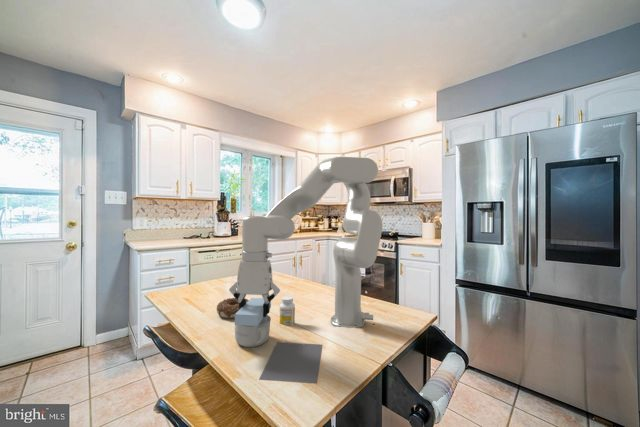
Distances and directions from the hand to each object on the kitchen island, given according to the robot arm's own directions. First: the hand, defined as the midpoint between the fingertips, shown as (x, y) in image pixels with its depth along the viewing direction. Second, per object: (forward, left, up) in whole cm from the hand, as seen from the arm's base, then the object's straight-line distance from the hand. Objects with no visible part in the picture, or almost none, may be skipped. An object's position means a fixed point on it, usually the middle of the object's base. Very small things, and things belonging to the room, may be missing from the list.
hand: (254, 314), depth 81 cm
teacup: (0, 0, -10) cm, 10 cm away
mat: (-14, +8, -10) cm, 19 cm away
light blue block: (0, 0, 0) cm, 0 cm away
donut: (+16, -24, -10) cm, 30 cm away
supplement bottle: (-7, -16, -10) cm, 20 cm away
